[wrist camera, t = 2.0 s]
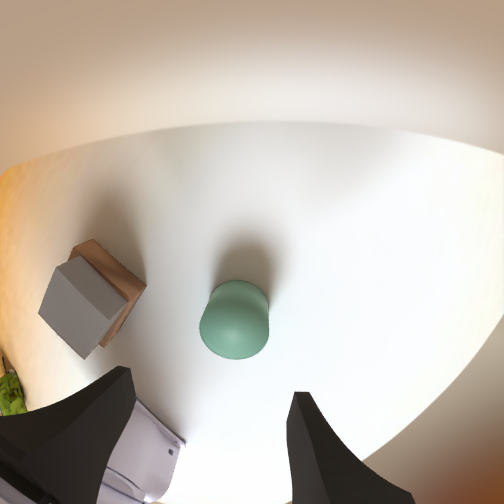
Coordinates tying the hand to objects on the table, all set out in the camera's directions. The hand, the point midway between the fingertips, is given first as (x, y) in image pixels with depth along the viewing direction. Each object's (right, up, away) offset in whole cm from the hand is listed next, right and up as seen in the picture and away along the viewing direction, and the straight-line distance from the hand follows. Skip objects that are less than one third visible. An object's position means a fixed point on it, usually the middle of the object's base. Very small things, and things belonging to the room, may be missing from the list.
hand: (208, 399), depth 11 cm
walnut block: (-11, +3, +11) cm, 15 cm away
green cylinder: (+1, +2, +10) cm, 11 cm away
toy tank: (-32, -14, +16) cm, 38 cm away
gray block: (-10, +3, +8) cm, 13 cm away
